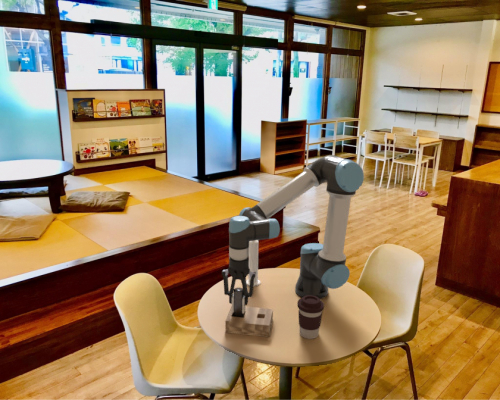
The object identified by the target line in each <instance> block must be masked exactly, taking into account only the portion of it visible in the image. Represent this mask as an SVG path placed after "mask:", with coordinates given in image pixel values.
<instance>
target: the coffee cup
mask: <svg viewBox="0 0 500 400" xmlns="http://www.w3.org/2000/svg"><path fill="white" fill-rule="evenodd" d="M297 309H298V326H299V327H298V328H299V334H300V336H301V337H302V338H304V339H308V340H312V339H313V340H314V339H315V338H316V339H317V337H319V335H320V334H319V333H320V327H321V325H322V323H321V322H322V316H323V311H324V309H325V303H324V302H323V301H322V300H321V299H319V298H318V297H316V296H313V295H306V296H304V297H301V298H299V299H298V300H297Z"/></svg>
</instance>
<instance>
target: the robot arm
mask: <svg viewBox="0 0 500 400" xmlns="http://www.w3.org/2000/svg"><path fill="white" fill-rule="evenodd" d="M364 181H365V175H364V171H363V168H362V167H361V165H360V164H359V163H357V162H355V161H354V160H352V159H349V158H348V159H347V158H344V157H341V156H338V155H333V154H329V155H325V156H323V157H320V158H318V159H316V160H315V161H313V162H311V163H309V164H308V165H307V166H305V167H304V168H303V171H302V172H301V173H300V174H298V175H297V176H295V177H294V178H292V179H291V180H289V181H288V182H286V183H285V184H283V186H281V187H280V188H278V189H277V190H275V191H273V192H272V193H271V194H270V195H268V196H267V197H265V198H264V199H262V200H261V201H259V202H258V203H257V204H255V205H253V207H249V206H248V207H243V209H241V210H240V212H239V215H235V216H233V217H231V218H230V219H229V223H228V226H229V227H228V234H229V235H228V236H229V237H228V239H229V241H228V250H229V251H228V252H229V253H228V268H227V269H223V270H222V271H221V275H222V279H223V291H224V295H225V296H228V303H229V304H230V305H231V306H232V312H234V289H235V287H236V286H235V285H236V281H237V280H239V281H240V282H241V286H242V287H241V288H243V293H244V297H243V298H242V313H244V312H245V306H247V305H249V298H252V297H253V294H254V287H255V286H254V278H255V276H256V272H251V271H250V269H249V241H255V240H258V241H262V240H270V239H274V238H278V237H279V235H280V231H281V229H280V224H279V221H278V220H277V219H276V218H271V217H272V216H274V215H275V214H276V213H278V212H279V211H281V210H282V209H284V208H286V206H288V205H289V204H291V203H292V202H293V201H295V200H297V198H299V197H300V196H302V195H303V194H305V193H307V192H308V191H309V190H311V189H312V188H313V187H316V188H317V187H319V186H321V185H322V184H326V192H327V194H328V196H329V197H328V206H327V213H326V220H325V227H324V235H323V242H322V243H320V242H319V243H318V242H317V243H316V242H312V243H311V242H310V243H305V244H304V245H302V246H301V248H300V259H299V261H300V262H299V263H300V264H299V276H298V279H297V280H296V283H295V287H294V288H295V290H294V292H295V294H296V295H298V296H299V297H301V298H303V297H304V296H306V295H313V296H316V297H318V298H319V299H320V300H321V299H324V298H326V297H328V295H329V289H331V290H334V289H338V288H341V287H343V286H344V285H345V284H346V283H347V282H348V280H349V277H350V275H351V273H350V269H349V267H348V266H347V265H346V261H347V256H346V254H345V253H344V249H345V242H346V235H347V230H348V229H347V228H348V221H349V214H350V208H351V207H350V205H351V202H352V201H351V199H352V198H353V197H354V196H355V195H356V193H357V192H356V191H358V190H359V189H360V187H361V186H362V185H363V183H364ZM229 274H230V276H231V284H230V289H229ZM248 274H249V275H250V278H251V279H250V286H249V289H248V285H247V283H246V280H247V277H248Z"/></svg>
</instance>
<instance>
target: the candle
mask: <svg viewBox="0 0 500 400" xmlns="http://www.w3.org/2000/svg"><path fill="white" fill-rule="evenodd" d="M259 241H260V240H255V241H249V256H248V257H249V269H250V271H251V272H256V276H255V278H254V287H258V286H260V285H261V280H260V279H259ZM247 277H248V278H247V279H246V283H247V287H250V279H251V278H250V275H249V274H248V275H247Z"/></svg>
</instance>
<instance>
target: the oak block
mask: <svg viewBox="0 0 500 400" xmlns="http://www.w3.org/2000/svg"><path fill="white" fill-rule="evenodd" d="M273 317H274V309H273V308H264V307H256V306H247V305H245V312H244V313H243V318H241V317H233V312H232V305H230V308H229V312H228V314H227V315H226V319H225V321H224V322H225V330H224V331H225V333H228V334H229V333H230V334H231V333H232V334H238V335H247V336H248V335H249V336H257V337H266V338H270V333H271V329H272V324H273V320H274V319H273Z"/></svg>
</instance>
